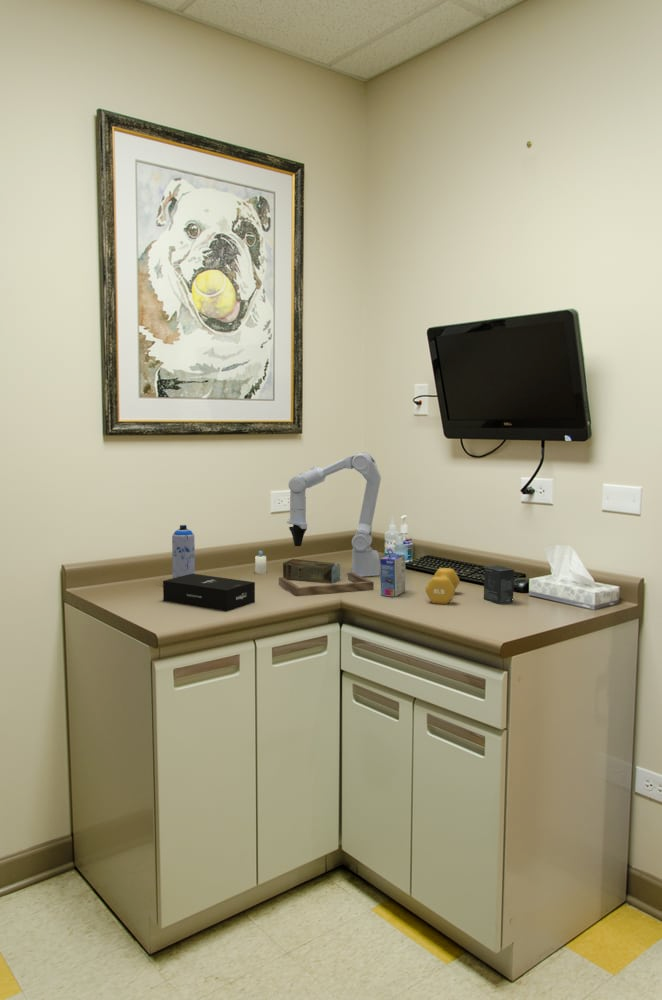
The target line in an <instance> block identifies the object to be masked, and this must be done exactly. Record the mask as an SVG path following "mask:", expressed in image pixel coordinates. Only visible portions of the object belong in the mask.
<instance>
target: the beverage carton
mask: <svg viewBox="0 0 662 1000" xmlns="http://www.w3.org/2000/svg"><path fill="white" fill-rule="evenodd" d="M282 573H283V574H282V577H283V578H285V579H287V580H288V581H291V580H292V581H299V582H301V581H302V582H310V583H312V582H313V583H322V584H323V583H324V584H334V583H336V582H337V581H339V580H341V564H340V563H337V562H325V561H315V560H305V559H294V558H292V559H290V560H287V561H285V562H283V563H282Z"/></svg>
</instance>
